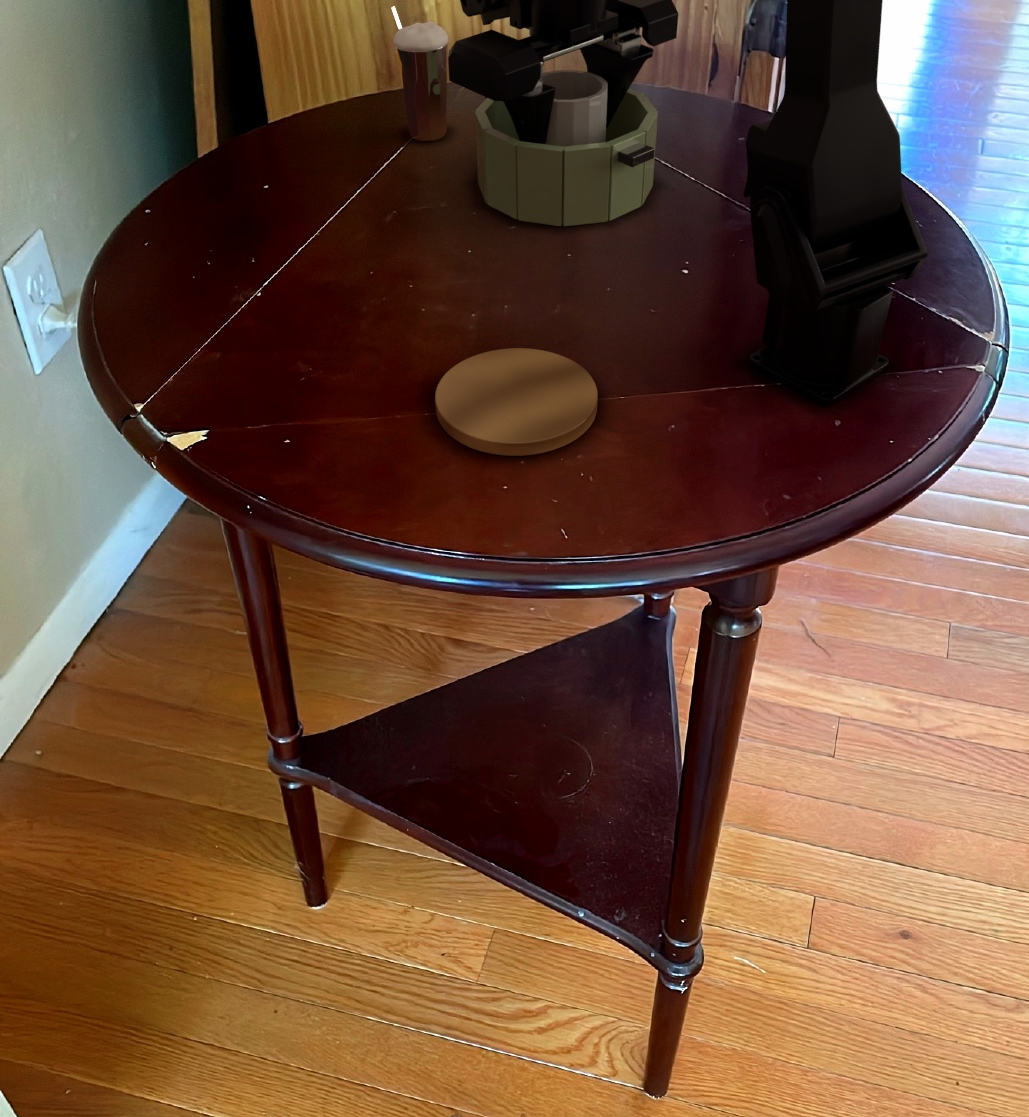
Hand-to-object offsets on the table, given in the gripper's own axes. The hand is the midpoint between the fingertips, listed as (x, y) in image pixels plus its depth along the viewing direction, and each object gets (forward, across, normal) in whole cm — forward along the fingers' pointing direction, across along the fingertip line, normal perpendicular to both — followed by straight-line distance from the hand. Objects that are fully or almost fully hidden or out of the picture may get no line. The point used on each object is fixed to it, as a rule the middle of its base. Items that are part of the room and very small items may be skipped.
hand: (565, 151), depth 90 cm
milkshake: (+3, +2, -16) cm, 16 cm away
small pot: (+3, 0, 0) cm, 3 cm away
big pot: (+3, 0, 0) cm, 3 cm away
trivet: (+3, +23, +20) cm, 31 cm away
